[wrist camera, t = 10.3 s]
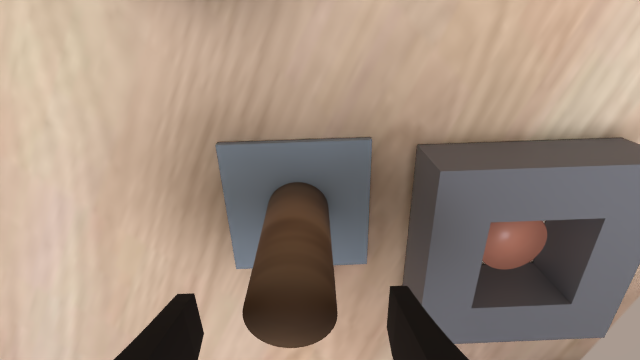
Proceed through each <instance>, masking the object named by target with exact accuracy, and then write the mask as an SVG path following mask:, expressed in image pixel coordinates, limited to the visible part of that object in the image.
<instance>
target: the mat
mask: <svg viewBox="0 0 640 360" xmlns="http://www.w3.org/2000/svg"><path fill="white" fill-rule="evenodd" d="M216 151H217V157H218V163H219V169H220V175H221V181H222V187H223V192H224V198H225V204H226V210H227V216H228V222H229V228H230V234H231V240H232V246H233V252H234V258H235V264H236V269H248V268H253V265H254V261H255V256H256V252H257V248H258V244H259V240H260V236H261V231H262V227H263V223H264V219H265V215H266V211H267V207H268V202H269V199H270V197H271V195H272V194H273V193H274V192H275V191H276V190H277V189H278V188H279V187H281V186H283V185H285V184H288V183H293V182H303V183H307V184H310V185H312V186H314V187H316V188H318V189H319V190H320V191H321V192H322V193H323V194H324V196H325V197H326V199H327V202H328V208H329V220H330V231H331V243H332V255H333V265H351V264H367V247H368V223H369V200H370V176H371V153H372V139H371V137H365V138H336V139H306V140H277V141H247V142H218V143H217V144H216Z"/></svg>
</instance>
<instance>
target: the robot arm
mask: <svg viewBox="0 0 640 360" xmlns="http://www.w3.org/2000/svg"><path fill="white" fill-rule="evenodd" d="M387 330H388V336H389V341H390V346H391V352H392V356H393V360H469V359H468V358H467V357H466V356H465V355H464V354H463V353H462V352H461V351H460V350H459V349H458V348H457V347H456V346H455V345H454V344H453V342H452V341H451V340H450V339H449V338H448V337H447V336H446V334H445V333H444V332H443V331H442V330H441V329H440V327H439V326H438V325H437V324H436V323H435V321H434V320H433V319H432V318H431V316H430V315H429V314H428V313H427V311H426V310H425V309H424V307H423V306H422V305H421V304H420V302H419V301H418V299H417V298H416V297H415V295H414V294H413V293H412V291H411V290H410V288H409V287H408V286H390V294H389V307H388V319H387ZM203 335H204V332H203V328H202V324H201V320H200V316H199V311H198V307H197V303H196V299H195V295H194V294H177V295H176V296H175V297H174V298H173V299H172V300H171V301H170V302H169V303H168V305H167V306H166V307H165V308H164V309H163V310H162V311H161V312H160V313H159V314H158V315H157V316H156V317H155V318H154V320H153V321H152V322H151V323H150V324H149V325H148V326H147V327H146V328H145V329H144V330H143V331H142V332H141V333H140V334H139V335H138V336H137V337H136V338H135V339H134V340H133V341H132V342H131V343H130V344H129V345H128V346H127V347H126V348H125V349H124V350H123V351H122V352H121V353H120V354H119V355H118V356H117V357H116V358H115V359H114V360H198V356H199V352H200V348H201V344H202V339H203Z"/></svg>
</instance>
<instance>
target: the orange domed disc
mask: <svg viewBox="0 0 640 360" xmlns="http://www.w3.org/2000/svg"><path fill="white" fill-rule="evenodd" d="M546 240H547V229H546V227H545V225H544V223H543V222H542V221H518V222H491V224H490V229H489V233H488V237H487V242H486V246H485V251H484V255H483V259H482V261H483V262H484V263H485V264H487V265H488V266H490V267H492V268H496V269H513V268H517V267H520V266H522V265H524V264H526V263H528V262H530V261H531V260H533V259H534V258H535V257H536V256H537V255H538V254H539V253H540V252H541V250H542V249H543V247H544V245H545V243H546Z"/></svg>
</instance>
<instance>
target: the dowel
mask: <svg viewBox="0 0 640 360" xmlns="http://www.w3.org/2000/svg"><path fill="white" fill-rule="evenodd" d="M243 320H244V322H245V325H246V326H247V328H248V330H249V331H250V332H251V333H252V334H253V335H254V336H255V337H257V338H258V339H260V340H261V341H263V342H265V343H267V344H270V345H273V346H277V347H283V348H298V347H304V346H308V345H311V344H314V343H316V342H318V341H320V340H322V339H323V338H324V337H326V336H327V335H328V334H329V333H330V332H331V331H332V329H333V328H334V326H335V324H336V321H337V302H336V290H335V279H334V267H333V255H332V243H331V231H330V220H329V208H328V202H327V199H326V197H325V196H324V194H323V193H322V192H321V191H320V190H319V189H318V188H316V187H314V186H312V185H310V184H307V183H303V182H293V183H288V184H285V185H283V186H281V187H279V188H278V189H277V190H276V191H275V192H274V193H273V194H272V195H271V197H270V199H269V202H268V207H267V211H266V215H265V219H264V223H263V227H262V231H261V236H260V240H259V244H258V248H257V252H256V256H255V261H254V265H253V269H252V273H251V277H250V281H249V285H248V290H247V294H246V298H245V302H244V306H243Z"/></svg>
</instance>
